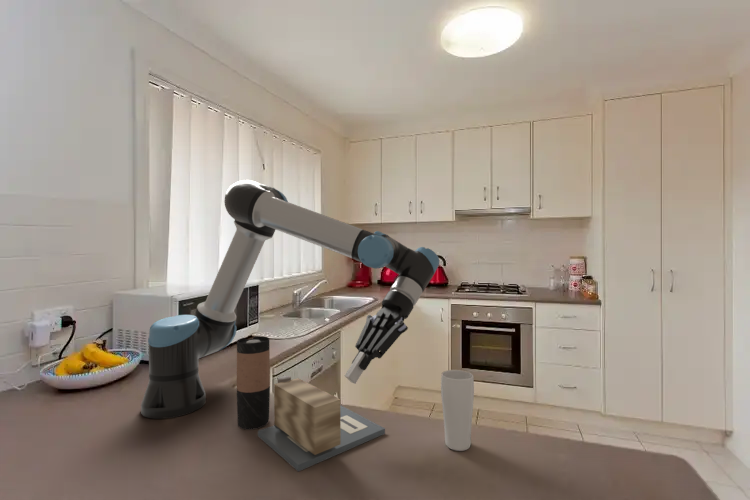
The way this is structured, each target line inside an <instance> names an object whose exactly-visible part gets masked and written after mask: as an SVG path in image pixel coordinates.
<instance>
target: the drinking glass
mask: <svg viewBox="0 0 750 500" xmlns="http://www.w3.org/2000/svg"><path fill="white" fill-rule="evenodd" d="M474 378H475V377H474V374H473V373H471V372H470V371H466V370H462V369H448V370H445V371H443V372H441V378H440V381H441V382H440V391H441V392H440V393H441V404H442V405H441V406H442V416H443V417H442V418H443V427H444V428H443V430H444V443H445V446H446V447H447V448H448V449H450V450H452V451H457V452H464V451H467V450H468V449H470V448H471V444H472V442H471V440H472V439H471V438H472V437H471V436H472V424H473V423H472V422H473V411H474V398H475V385H474V384H475V383H474V381H475V380H474Z"/></svg>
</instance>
